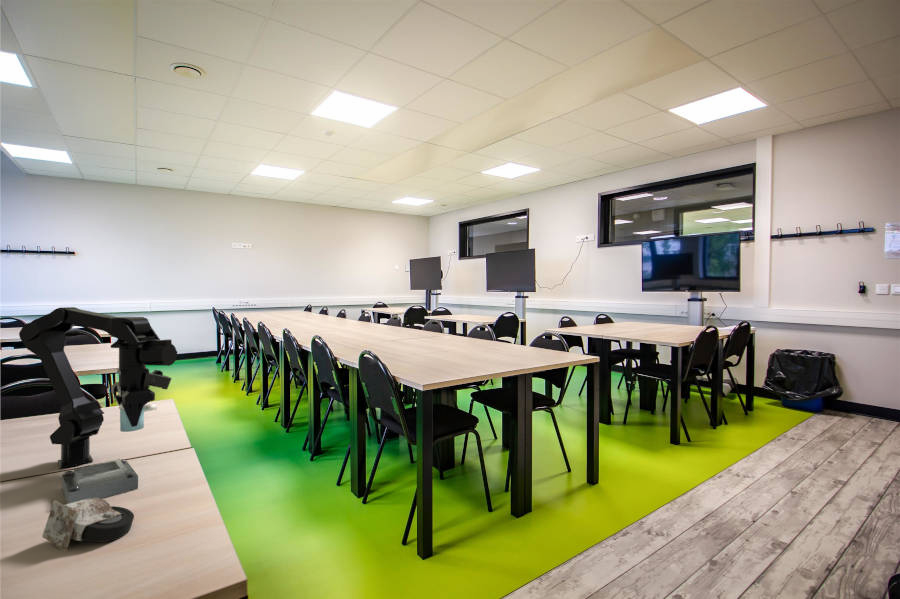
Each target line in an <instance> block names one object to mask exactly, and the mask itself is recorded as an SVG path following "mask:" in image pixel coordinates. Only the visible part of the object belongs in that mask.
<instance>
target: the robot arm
mask: <svg viewBox="0 0 900 599" xmlns="http://www.w3.org/2000/svg"><path fill="white" fill-rule="evenodd" d="M74 326H79V327H84V328H89V329H94V330H97V331H103V332H104V333H107V334H108V336H110V337H113V338H116V339H117V340H116V341H114V342H113V343H112V344H111V345H110V348H111V349H118V368H117V369H116V373H117V374H118V381H115V382H114V383H113V384H112V385H111V387H110V388H111V389H110V390H111V392H110V393H111V394H112V395H113V397H114V398H113V399H115V401H116V403H117V405H118V406H119V405H120V404H121V405H122V407H123V409H124V411H125V413H126V415H127V417H128V420H129V422H130V424H131V426H132V427H134V426H137V425H138V421H139V418H140V415H141V412H142V409H143V406H144V405H148V403H150V402H154V401H155V400H156V393H155V391H153V390H152V389H150V387H155V388H161V389H162V390H168V389H169V386H170V383H171V380H172V377H170V376H167V375H164V374H163V371H161V370H158V369H154V371H152V372H150V369H149V368H147V366H162V367H163V366H165V367H167V366H169V367H170V366H172V365H173V364H175V362H176V360H177V357H178V351H177V349H176V346H175V345H174V344H173V343H172V339H167V338H166V339H161V338H160V337H159V335H158V334H157V333H156V331H155V329H153V327H152V326H151V324H150V322H149V319H148V318H146V317H144V316H114V315H109V314H105V313H99V312H95V311H89V310H85V309H80V308H77V307H74V306H70V307H69V306H68V307H58V308H56V309H54V310H52V311H51V312H49V313H47V314H44V315H43V316H41V317H38V318H36V319H33V320H32V321H31V322H28V323H27V322H26V323H25V324H23V326H22V327H21V329H20V331H19V332H18V336H19V338H20V340H21V342H22V344H23V345H24V347H25V348H26V349H27V350H28V351H29V352H31V353H32V354H34V355H35V356H36V357H39V359H40V362H41V364H42V367H43V369H44V371H45V372H46V375H47V377H48V380H49V382H50V384H51V386H52V389H53V390H54V393H55V395H56V397H57V400H58V401H59V404H60V410H59V414H58V422H59V427H57V429H55V430H54V432H52V433H51V434H50V435H49V440H50V442H51V444H52V445H60V459H58V460H57V464H58V467H59V469H65V468H70V467H76V466H78V465H79V466H80V465H83V464H88V463H93V462H94V459H93V457H92V455H91V454H90V450H91V449H90V447H91V446H90V442H91V441H90V437H92V436H97V435H98V434H99V432H100V428H101V426H102V425H103V422H104V415H105V412H104V410H102V408H101V406H100V402H99V401H98V400H97V399H96V400H92V401H91V400H89V399H87V397H85V394H84V392H83V390H82V387H81V385H80V383H79V381H78V378H77V376H76V374H75V372H74V369H73V368H72V365H71V363H70V362H69V359H68V357H67V354H66V353H65V346H66V343H67V336H66V334H67V333H68V332H70V331H71V330H72V329H73V327H74ZM116 394H117V395H116Z"/></svg>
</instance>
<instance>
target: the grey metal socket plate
mask: <svg viewBox="0 0 900 599" xmlns="http://www.w3.org/2000/svg"><path fill="white" fill-rule="evenodd" d="M61 488H62V492H63V495H64V498H65V500H66V504H70V503H73V502H77V501H81V500H84V499H89V498H100V499H104V498H108V497H112V496H115V495H119V494H123V493H127V492H130V491H135V490H138V489H139V475H138V474H137V473H136V471H135V470H134V469H133V466H131V465H130V463H129V462H128V460H126V459H124V458H123V459H121V458H117V459H112V460H107V461H101V462H98V463H93V464H89V465H88V464H87V465H85V466H79V467H75V468H73V470H68V471H65V472H64V473H63V474H61Z"/></svg>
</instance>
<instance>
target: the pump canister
mask: <svg viewBox="0 0 900 599" xmlns="http://www.w3.org/2000/svg"><path fill="white" fill-rule="evenodd" d="M157 408H158V405H157V403H152V404H145V405H144V406H143V409H142V412H141V415H140V418H139V421H138V425H137V426H134V427H132V426H131V424H130V422H129V420H128V417H127V415H126V413H125V411H124V409H123V407H122V405H121V404H120V405H118V409H119V423H120V425H119V431H120V432H123V433H125V432H136V431H139V430H142V429H144V428H145V412H149V411H151V412H152V411H157V410H158V409H157Z"/></svg>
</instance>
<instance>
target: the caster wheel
mask: <svg viewBox="0 0 900 599" xmlns="http://www.w3.org/2000/svg"><path fill="white" fill-rule="evenodd" d="M134 518H135V514H134V512H133V511H131V510H130V509H129V508H126V507H123V506H114V505H113V506H111V505H110V503H109V502H108V501H107V500H105V499H104V498H101V499H100V498H89V499H84V500H81V501H77V502H73V503H70V504H67V503H66V504H62V503H61V502H59V501H57V500H53V502H52V505H51V509H50V510H49V514H48V517H47V521H46V523H45V527H44V529H43V533H42V538H43V539H45V540H46V541H48V542H49V543H51V544H53V545H54V546H56V547H57V548H58V549H61V550H62V551H64V550H66V551H67V549H68V547H69V544H70V541H71V540H75V541H78V542H79V541H80V542H83V541H86V542H93V543H94V542H95V543H100V542H101V543H102V542H110V541H111V542H112V541H115V540H118V539H120V538H123V537H124V536H126V535H127V534H128V533H129V532H130V530H131V527H132V524H133V521H134Z"/></svg>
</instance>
